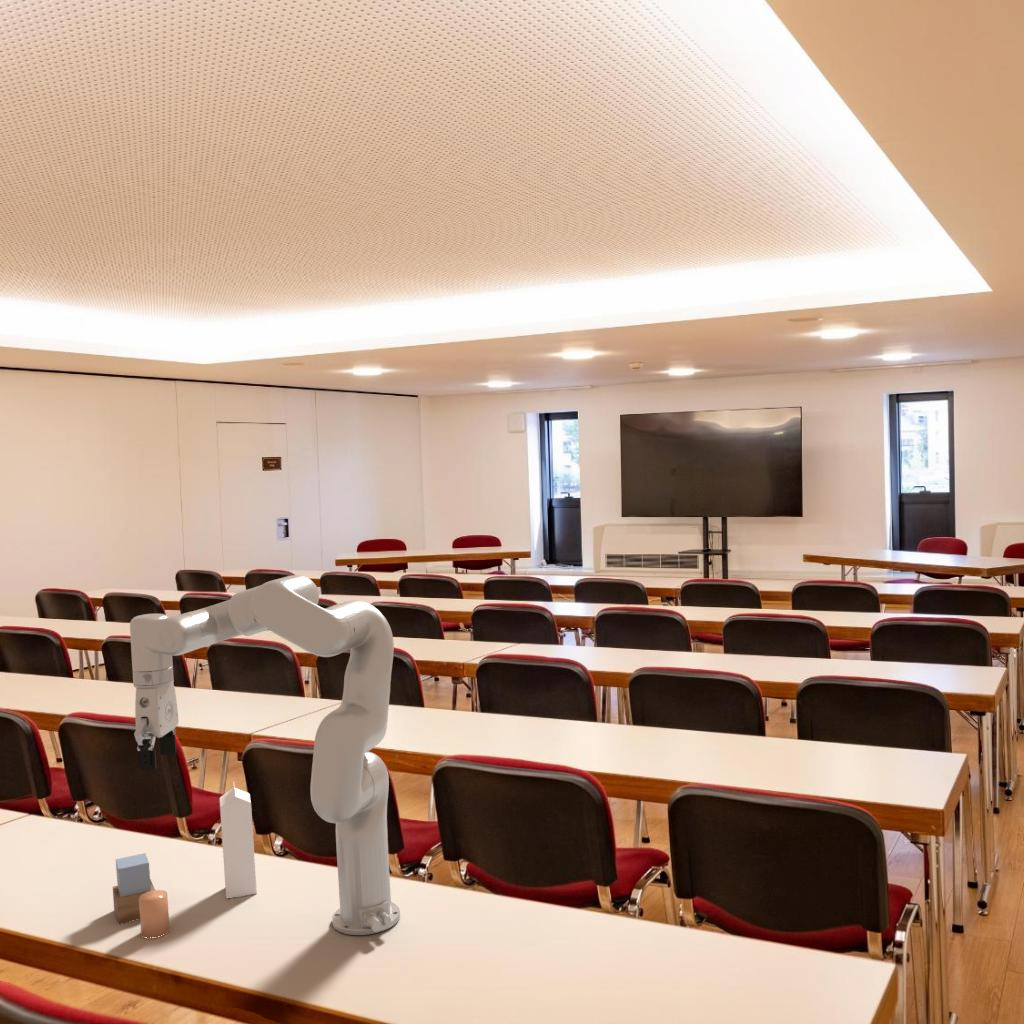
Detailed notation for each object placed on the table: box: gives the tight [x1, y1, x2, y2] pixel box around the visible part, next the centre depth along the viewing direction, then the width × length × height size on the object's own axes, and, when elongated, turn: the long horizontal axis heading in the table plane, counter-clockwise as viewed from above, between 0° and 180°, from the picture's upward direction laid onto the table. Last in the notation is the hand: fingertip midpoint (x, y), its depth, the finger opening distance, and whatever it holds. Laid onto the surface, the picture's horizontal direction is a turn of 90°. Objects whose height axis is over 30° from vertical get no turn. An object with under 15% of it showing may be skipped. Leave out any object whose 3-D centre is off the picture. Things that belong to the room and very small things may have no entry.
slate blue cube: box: [115, 852, 151, 897], centre depth 194 cm, size 6×6×6 cm
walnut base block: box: [112, 878, 156, 925], centre depth 194 cm, size 7×7×5 cm
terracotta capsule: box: [139, 889, 171, 938], centre depth 186 cm, size 5×5×7 cm
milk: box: [219, 780, 258, 900], centre depth 202 cm, size 6×6×22 cm
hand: (158, 761), depth 198 cm, fingers open, 9 cm apart
